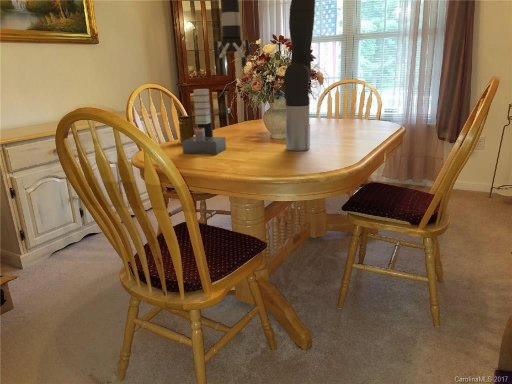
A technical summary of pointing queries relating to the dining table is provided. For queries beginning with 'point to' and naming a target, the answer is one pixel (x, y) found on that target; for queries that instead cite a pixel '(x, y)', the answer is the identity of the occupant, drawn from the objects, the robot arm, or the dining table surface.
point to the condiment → (185, 128)
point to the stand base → (203, 144)
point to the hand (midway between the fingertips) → (232, 67)
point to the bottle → (207, 127)
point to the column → (202, 106)
